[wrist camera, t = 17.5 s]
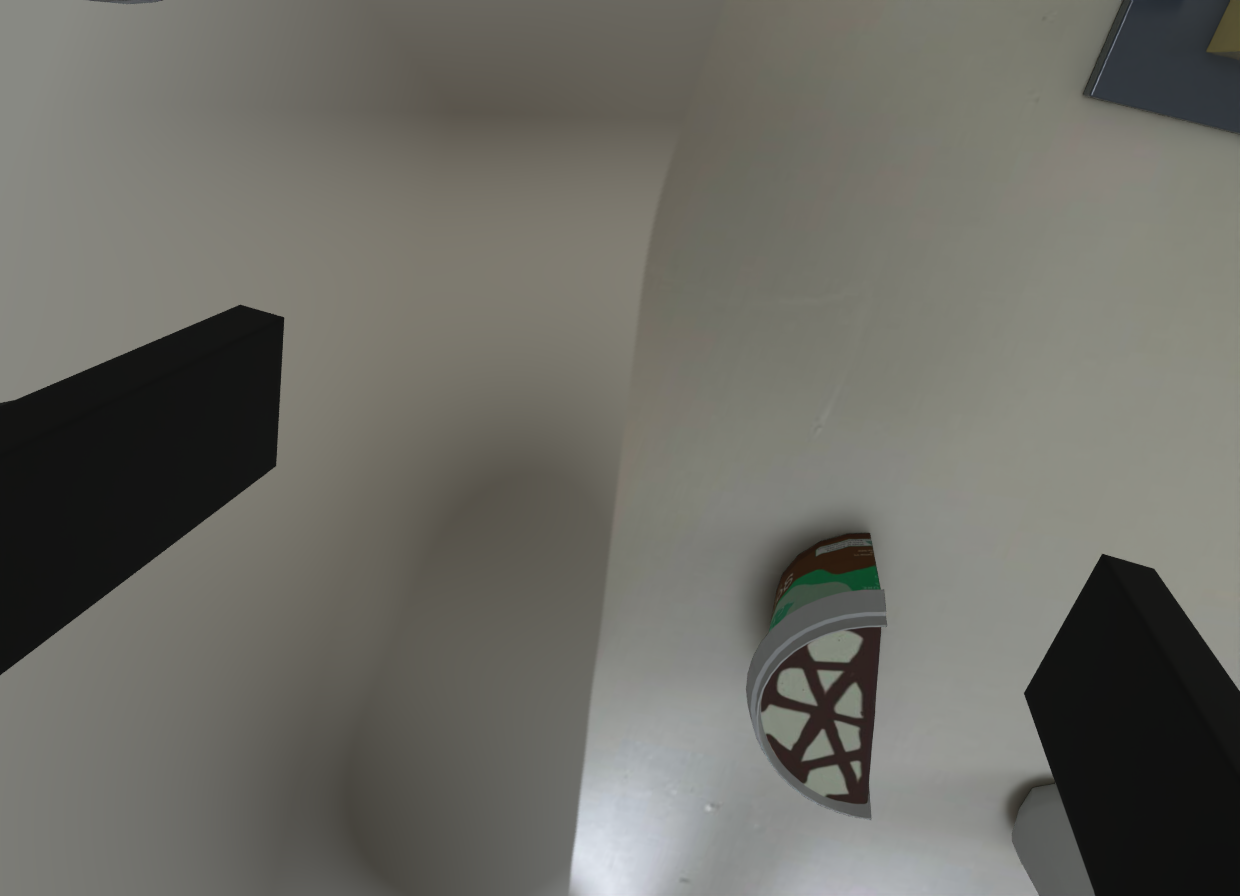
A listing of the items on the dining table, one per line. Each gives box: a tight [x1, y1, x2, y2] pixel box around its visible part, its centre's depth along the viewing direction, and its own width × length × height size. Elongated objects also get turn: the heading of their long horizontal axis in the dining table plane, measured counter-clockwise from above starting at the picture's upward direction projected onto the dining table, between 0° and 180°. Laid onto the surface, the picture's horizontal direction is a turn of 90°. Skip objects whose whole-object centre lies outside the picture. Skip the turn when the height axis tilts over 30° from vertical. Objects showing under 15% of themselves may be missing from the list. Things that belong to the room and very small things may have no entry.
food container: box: [746, 533, 887, 820], centre depth 45 cm, size 12×6×10 cm, turn 3°
